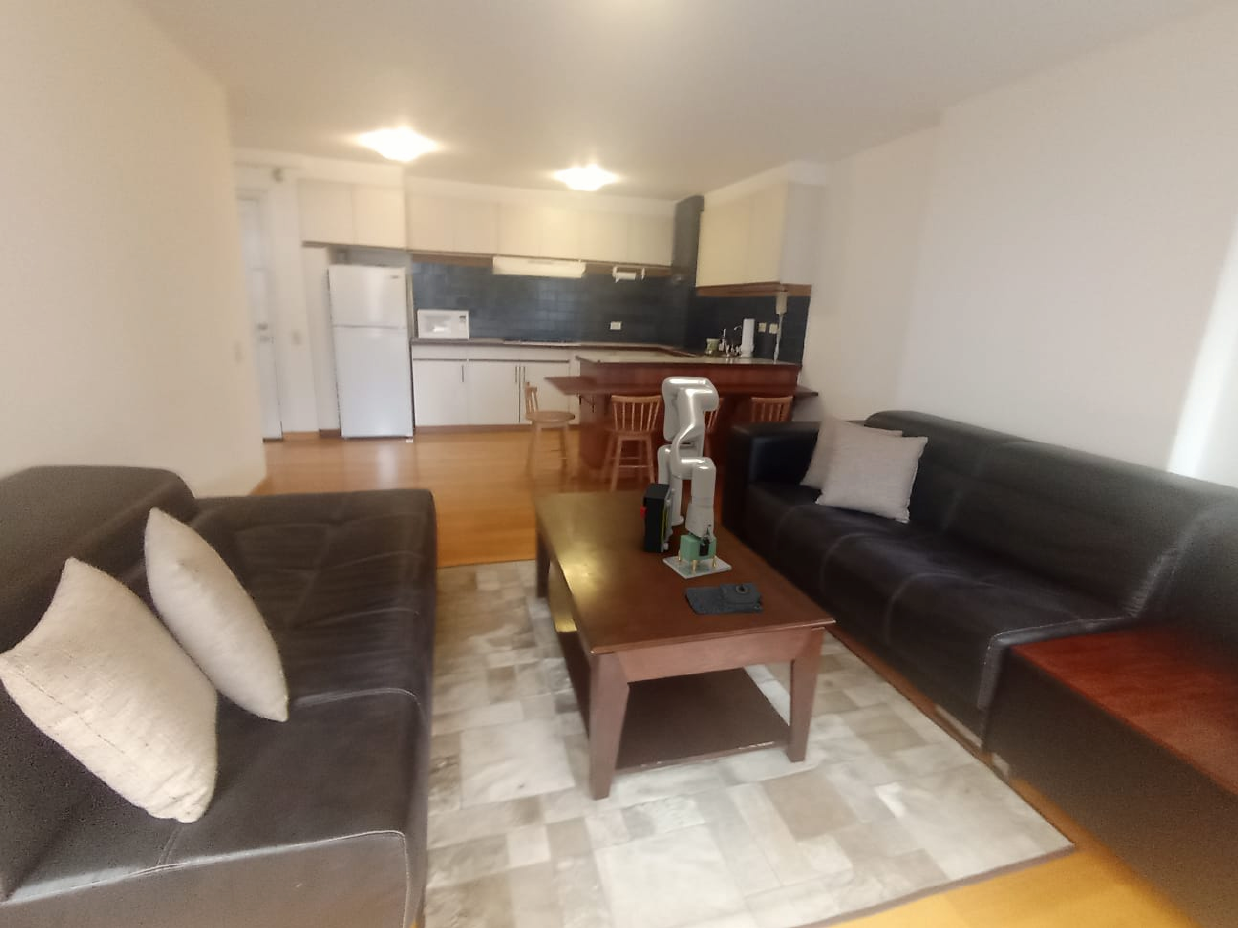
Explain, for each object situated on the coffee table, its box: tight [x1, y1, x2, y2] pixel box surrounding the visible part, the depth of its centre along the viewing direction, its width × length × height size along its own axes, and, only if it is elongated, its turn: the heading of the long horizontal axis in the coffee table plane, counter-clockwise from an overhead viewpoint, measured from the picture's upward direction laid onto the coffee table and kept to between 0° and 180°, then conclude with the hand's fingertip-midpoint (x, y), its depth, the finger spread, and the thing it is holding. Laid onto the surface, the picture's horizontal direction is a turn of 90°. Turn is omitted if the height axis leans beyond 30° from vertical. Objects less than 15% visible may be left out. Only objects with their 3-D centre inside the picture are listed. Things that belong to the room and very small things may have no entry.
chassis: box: [662, 548, 732, 579], centre depth 193 cm, size 14×18×4 cm
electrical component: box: [640, 482, 675, 554], centre depth 209 cm, size 18×10×20 cm, turn 168°
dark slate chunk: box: [685, 581, 765, 616], centre depth 170 cm, size 15×22×5 cm
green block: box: [679, 534, 717, 562], centre depth 192 cm, size 6×10×8 cm, turn 114°
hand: (697, 551), depth 193 cm, fingers closed on green block, 6 cm apart
